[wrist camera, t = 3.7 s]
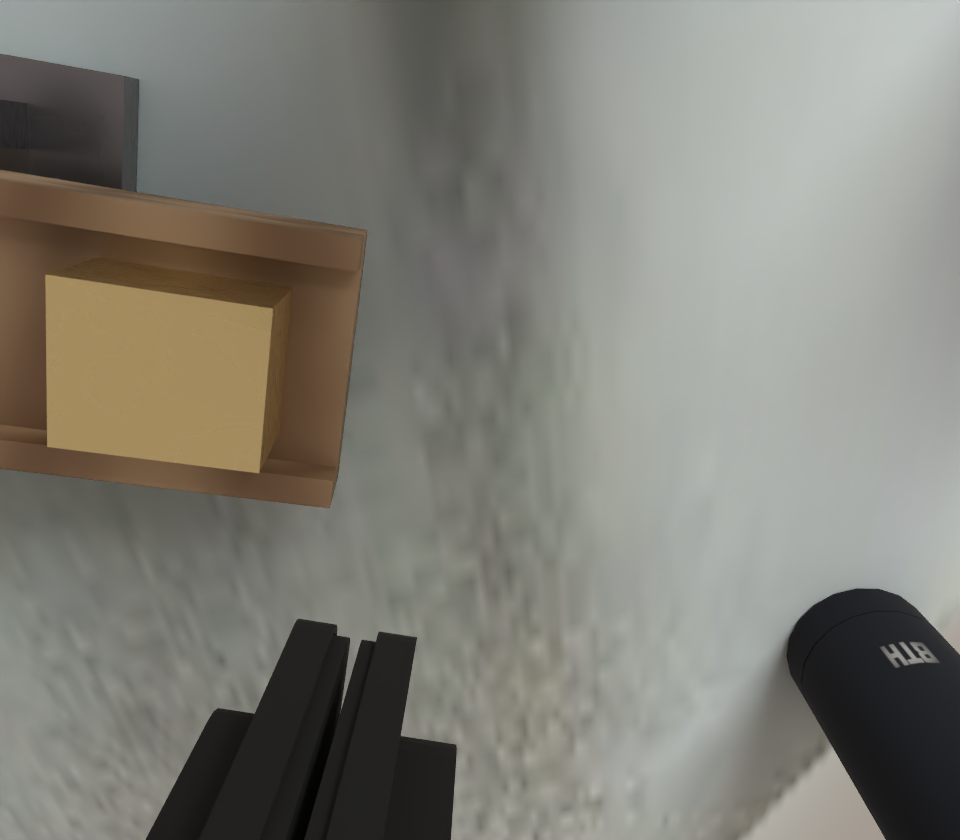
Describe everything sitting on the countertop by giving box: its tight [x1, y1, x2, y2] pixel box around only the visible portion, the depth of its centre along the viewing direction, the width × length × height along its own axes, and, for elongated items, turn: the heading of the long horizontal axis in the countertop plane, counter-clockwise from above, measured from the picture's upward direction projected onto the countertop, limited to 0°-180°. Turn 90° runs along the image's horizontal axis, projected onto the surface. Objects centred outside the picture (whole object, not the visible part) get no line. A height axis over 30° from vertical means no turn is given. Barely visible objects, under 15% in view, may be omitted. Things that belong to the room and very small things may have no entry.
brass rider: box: [45, 257, 293, 473], centre depth 23 cm, size 6×5×4 cm
